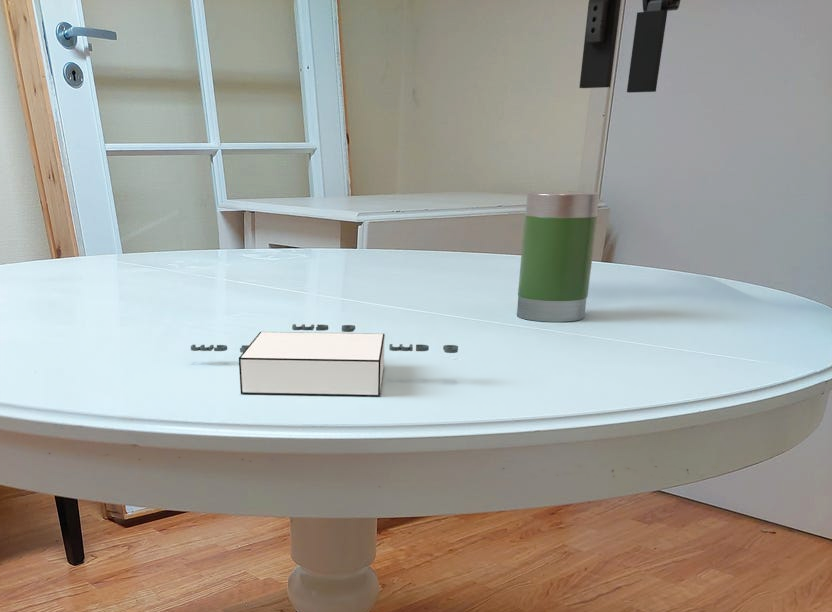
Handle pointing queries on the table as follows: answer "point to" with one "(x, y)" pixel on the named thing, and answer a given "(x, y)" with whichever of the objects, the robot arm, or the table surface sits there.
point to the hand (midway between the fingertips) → (618, 89)
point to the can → (557, 255)
